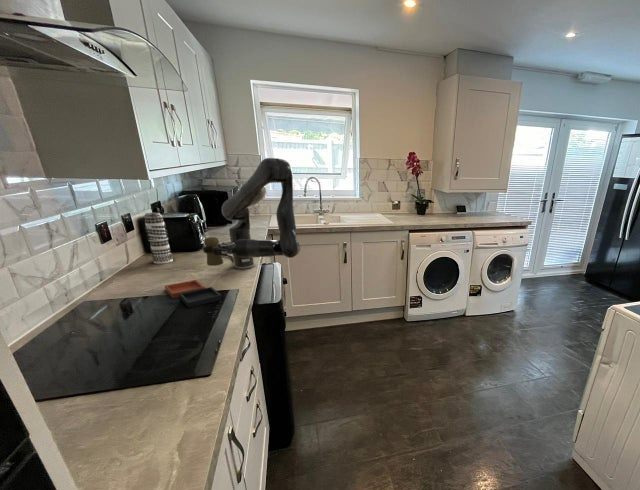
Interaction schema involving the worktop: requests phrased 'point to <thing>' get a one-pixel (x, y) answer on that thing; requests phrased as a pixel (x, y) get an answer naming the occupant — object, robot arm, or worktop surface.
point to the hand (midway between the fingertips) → (206, 248)
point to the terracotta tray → (183, 288)
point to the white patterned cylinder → (158, 238)
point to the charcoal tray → (200, 297)
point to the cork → (211, 258)
